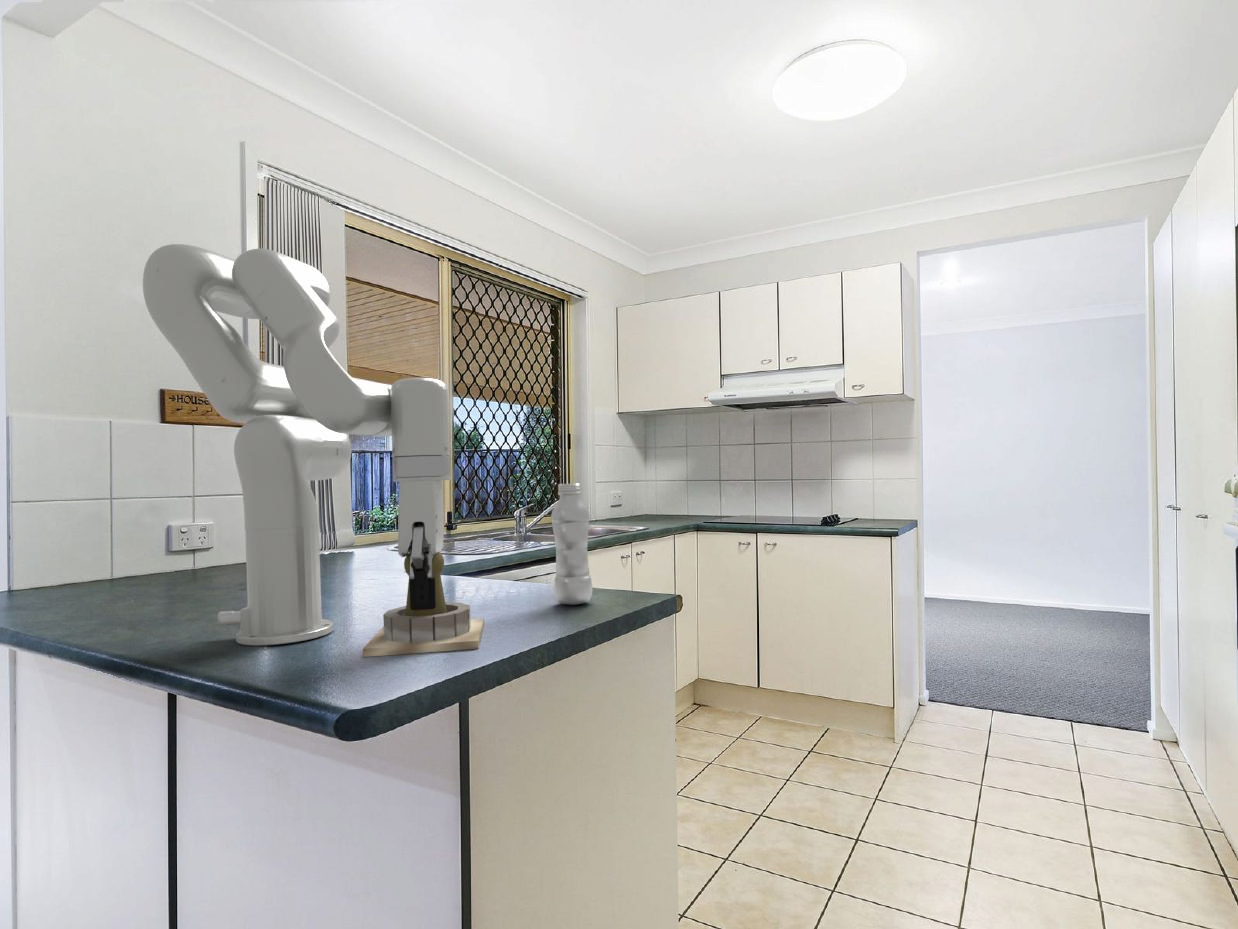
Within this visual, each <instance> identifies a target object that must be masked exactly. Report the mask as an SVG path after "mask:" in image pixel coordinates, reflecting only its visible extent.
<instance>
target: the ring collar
mask: <svg viewBox="0 0 1238 929" xmlns="http://www.w3.org/2000/svg"><path fill="white" fill-rule="evenodd" d="M445 603H446V609H447V613H443V614H437V615H430V616H405V614H406V605H404V606H399V607H396V608H393V609H392V608H391V609H389V610H388V609H387V610H386V612H384V613H383V616H382V617H383V626H382V627H381V629H379V631H378V632H377V633H376V634H375V635H374V636H373V637H372V638H371V639H370V640H369V641H368V642H367V644H365V645H364V646H363V648H362V658H366V657H367V658H369V657H380V656H395V655H410V654H422V653H423V654H424V653H436V652H449V651H462V650H463V651H464V650H475V649H476V650H478V649H480V643H481V640H482V635H483V632H484V627H485V618H471V606H470V604H467V603H466V604H465V603H462V602H449V601H445Z"/></svg>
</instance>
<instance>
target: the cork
mask: <svg viewBox="0 0 1238 929" xmlns="http://www.w3.org/2000/svg"><path fill="white" fill-rule="evenodd" d="M423 554H429V551H423ZM426 561H427V562H428V560H426ZM403 565H404V566H403V567H404V571H405V573H406V574H407V575H408V580H409V579H410V553H409V554H408V555H407V556H405V557H404V561H403ZM427 565H428V564H427ZM427 567H428V566H427ZM444 568H445V558H444V556H443V554H442V552H441V551H439V552H438V553H436V554H435V555H433V578H435V589H436V607H435V608H434V609H426V610H411V608H410V584H409V581H408V583H407V584H408V585H407V593H406V594H407V595H406V605H405V606H406V614H405V616H430V615H437V614H443V613H447V609H446V603H445V602H446V599H445V594H444V593H445V592H444V587H443V581H442V572H443V570H444Z"/></svg>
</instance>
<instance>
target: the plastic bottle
mask: <svg viewBox="0 0 1238 929" xmlns="http://www.w3.org/2000/svg"><path fill="white" fill-rule="evenodd" d="M557 490H558V492H557V495H558V496H559V499H558V501H557V502H556V504H555V505H554V508H553V509H552V511H551V516H550V520H551V527H552V531H553V537H554V547H555V576H554V582H553V594H554V597H555V598H554V599H556V601H557V603H559V604H563V605H567V606H577V605H581V604H584V603H588V602H589V601H590V600H591V598H592V596H593V589H594V588H593V581H592V580H593V579H592V577H591V573H590V572H591V571H590V566H589V565H590V564H589V557H588V546H589V545H588V544H589V543H588V538H589V537H588V536H589V535H588V534H589V528H590V527H589V526H590V513H589V510H588V508H587V507H586V505H585V503H584V502H583V501H582V500H581V498H580V495H582V493H581V492H582V491H581V484H580V483H559V484H558V486H557Z"/></svg>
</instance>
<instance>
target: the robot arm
mask: <svg viewBox="0 0 1238 929" xmlns="http://www.w3.org/2000/svg"><path fill="white" fill-rule="evenodd" d="M142 292H143V298H144V302H145V306H146V308H147V310H148V313H149V316H150V317H151V319H152V321H153V322H154V324H155V326H156V328H158V330H159V331H160V332H161V334H162V335H163V337H164V338H165V339H166V340H167V342H168V343H169V344H170V345H171V346H172V347H173V350H175V352H176V353H177V354H178V356H179V357H180V359H181V360H182V361H183V363H184V364H185V367H186V368H187V370H188V371H189V372H190V374H191V376H192V377H193V379H194V381H195V382H196V383H197V384H198V386H199V387H200V389H201V391H202V392H203V393H204V395H205V397H206V398H207V400H208V402H209V403H210V404H211V406H212V407H213V409H214V410H215V411H216V413H218V414H219V415H220V417H222V418H223V419H224V420H225V419H226V420H227V421H229V422H233V423H237V424H243V425H242V426H241V428H240V429H239V430H238V431H237V434H236V436H235V439H234V445H233V453H234V460H235V464H236V465H235V466H236V469H237V472H238V477H239V480H240V485H241V492H242V499H243V500H242V502H243V512H244V531H245V533H244V534H245V561H246V563H245V564H246V594H247V606H245V607H243V608H241V609H239V610H238V611H237V610H236V611H235V610H229V611H225V610H223V611H219V612H218V614H217V618H216V619H217V624H218V625H219V626H220V627H230V626H231V627H232V626H238V627H239V628H240V629H239V630H238V631H237V632H236V634H235V641H236V643H238V644H239V645H245V646H273V645H274V646H275V645H284V644H291V643H298V642H302V641H308V640H313V639H317V638H320V637H324V636H326V635H328V634H331V633H332V632H333V631H334V622H333V621H332V620H330V619H326V618H323V617H322V616H323V615H322V613H323V612H322V594H321V593H322V590H321V585H322V584H321V583H322V582H321V563H320V562H321V558H320V555H321V554H320V553H321V552H320V529H319V526H320V525H319V512H318V511H319V510H318V505H317V501H316V498H315V495H314V492H313V490H312V488H311V485H310V483H309V482H310V481H325V480H329V479H334V478H336V477H338V476H339V475H341V474H342V473H344V471H346V469H347V468H348V466H349V464H350V461H351V459H352V458H351V457H352V444H351V440H350V438H349V435H355V436H366V437H379V438H380V437H382V438H383V437H391V448H392V450H391V451H392V452H391V453H392V454H391V456H392V478H393V480H392V481H393V483H399V489H398V490H399V491H398V505H397V506H398V511H397V512H398V513H397V514H398V515H397V516H398V517H397V518H398V522H397V523H398V524H397V525H398V526H397V527H398V528H397V534H398V535H397V537H398V538H397V554H398V556H399V557H401V558H406V556H407V555H408V554H409V553H410V579H409V578H408V582H409V584H410V608H411V610H426V609H434V608H435V607H436V589H435V578H433V555H435V554H436V553H438V552H441V550H442V549H443V547H444V537H445V536H444V535H445V533H444V530H445V527H444V526H445V525H444V522H445V521H444V520H445V518H444V516H445V515H444V488H443V481H452V476H451V475H452V472H451V446H450V442H451V441H450V413H449V411H450V410H449V392H448V391H449V390H448V387H447V385H446V383H445V382H443V380H440V379H438V378H437V379H436V378H431V377H407V378H400V379H398V380H396V381H395V382H393V383H392V384H389V383H382V382H377V381H372V380H369V379H368V380H367V379H363V378H358V377H353V376H351V375H350V374H349V372H347V371H346V370H345V368H344V367H342V365H341V364H340V363H339V362H338V360H336V358H335V356H334V355H333V354H332V353H331V351H330V350H329V348H330V347H331V346H332V345H333V344H334V343H335V341H336V340H337V338H338V336H339V334H340V322H339V320H338V317H337V316H336V315H335V314H334V313H333V312H332V311H331V309H330V308H329V307H328V306H329V304H330V301H331V290H330V287H329V283H328V281H327V279H326V277H325V276H324V275H323V274H322V273H321V271H319V270H318V269H317V268H315V267H314V266H312V265H310V264H308V263H306V262H304V261H301V260H298V259H297V258H293V257H291V256H288V255H287V254H284V253H281V252H278V251H275V250H272V249H267V248H252V249H249V250H246V251H244V252H242V253H241V254H239V255H238V256H237V258H236V259H234V258H231V257H228V256H225V255H224V254H220V253H217V252H214V251H212V250H208V249H205V248H202V247H200V246H195V245H190V244H184V243H183V244H181V243H178V244H177V243H174V244H173V243H170V244H166V245H162V246H161V247H159V248H157V249H155V250H154V251H153V252H152V253H151V254H150V255H149V257H148V258H147V260H146V263H145V266H144V270H143V276H142ZM219 313H222V314H225V315H229V316H233V317H237V318H244V319H251V320H259V321H260V322H261V323H262V324H263V325H264V327H265V328H266V329H267V331H268V332H269V334H271V336H272V337H273V338H274V339H275V341H276V342H277V343H278V344H279V346H280V347H281V348H282V350H283V355H282V356H283V357H282V362H283V363H282V364H283V365H279V364H274V363H269V362H266V361H263V360H261V359H259V358H258V357H257V356H256V355H255V354H254V353H253V352H252V351H251V350H250V348H249V347H248V345H247V344H246V343H245V342H244V339H243V338H242V336H241V335H240V333H239V332H238V331H237V330H236V329H235V328H234V327H233V326H232V325H231V324H230V323H229V322H228V321H227V320H226V319H224V318H223V316H221V315H219ZM423 551H429V554H423ZM426 560H428V562H427V561H426ZM427 564H428V565H427ZM427 566H428V567H427Z"/></svg>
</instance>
